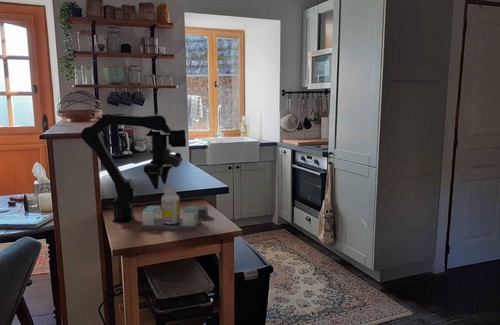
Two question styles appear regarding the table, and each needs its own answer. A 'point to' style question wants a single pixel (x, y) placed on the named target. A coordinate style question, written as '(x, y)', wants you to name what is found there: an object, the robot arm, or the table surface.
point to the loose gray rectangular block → (202, 212)
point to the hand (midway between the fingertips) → (160, 186)
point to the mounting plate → (155, 223)
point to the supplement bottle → (170, 206)
